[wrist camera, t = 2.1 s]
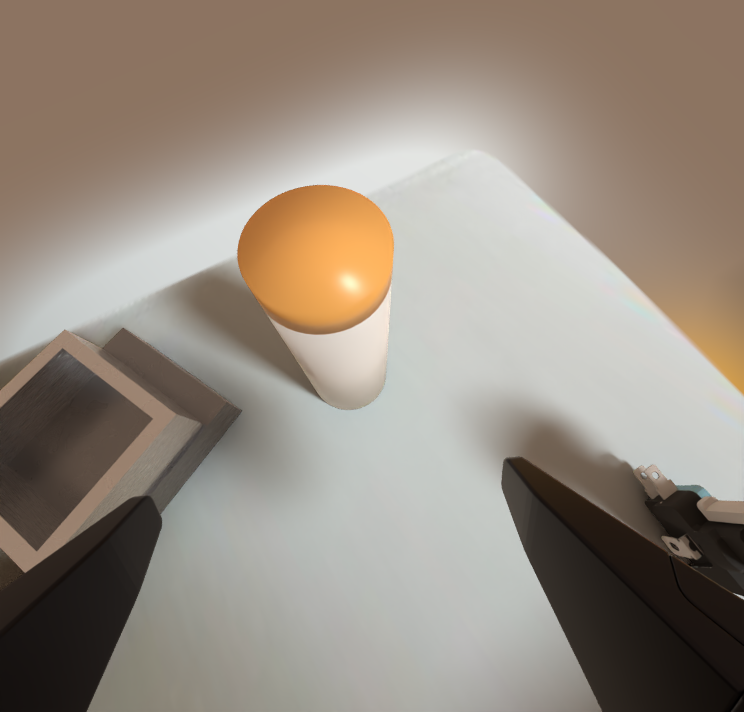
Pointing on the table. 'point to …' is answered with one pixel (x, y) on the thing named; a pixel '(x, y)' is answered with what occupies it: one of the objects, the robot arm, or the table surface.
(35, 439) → the grey stepped open box
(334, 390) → the orange lidded white canister
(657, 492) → the push button
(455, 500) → the table surface
